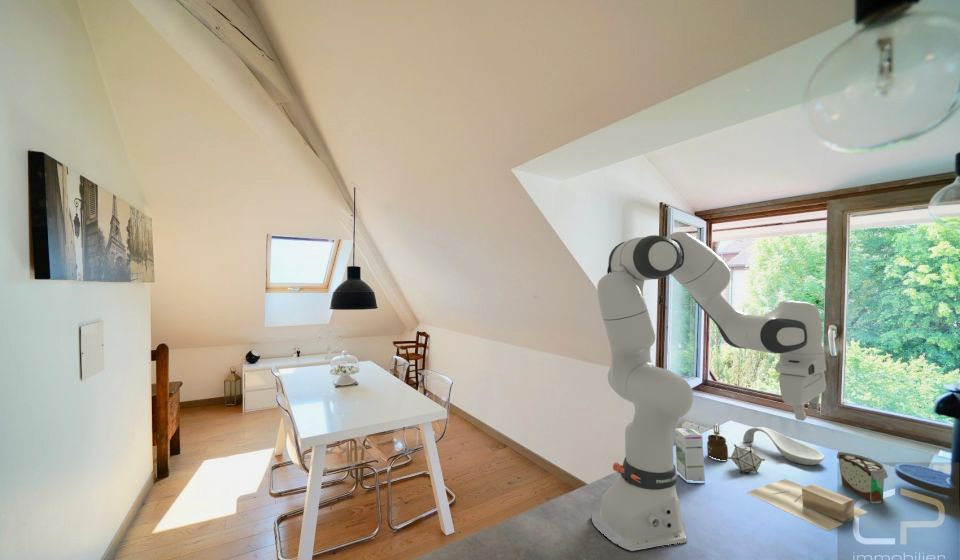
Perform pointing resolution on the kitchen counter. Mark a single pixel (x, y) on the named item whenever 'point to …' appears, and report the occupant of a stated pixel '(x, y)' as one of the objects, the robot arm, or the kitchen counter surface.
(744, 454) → the game die
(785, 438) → the spoon rest
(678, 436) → the syrup box
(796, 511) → the board
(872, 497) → the food container
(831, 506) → the block
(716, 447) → the utensil holder
